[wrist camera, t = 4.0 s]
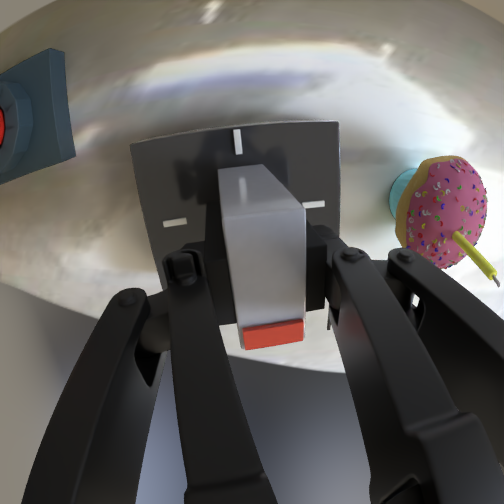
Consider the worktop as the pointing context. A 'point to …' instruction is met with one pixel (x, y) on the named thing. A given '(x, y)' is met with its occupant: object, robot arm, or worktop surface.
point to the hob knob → (264, 255)
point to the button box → (35, 116)
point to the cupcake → (441, 212)
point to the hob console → (228, 156)
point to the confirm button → (2, 126)
